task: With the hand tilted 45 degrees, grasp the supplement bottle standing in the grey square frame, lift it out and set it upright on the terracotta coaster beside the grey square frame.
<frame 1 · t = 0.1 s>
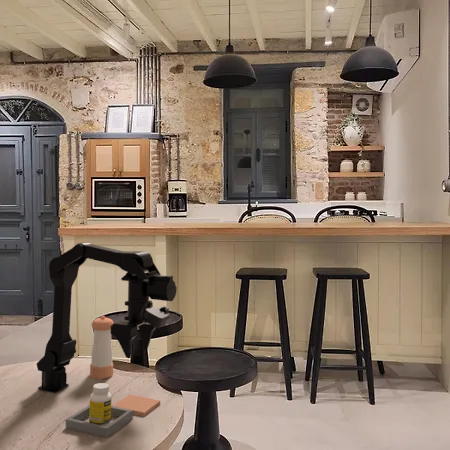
hand: (137, 353, 145), 15 cm above the table, tool pointing down, fingers open, 9 cm apart
grey square frame: (100, 423, 134), on the table
pepper shaker: (101, 375, 169), on the table
supplement bottle: (100, 423, 134), resting in grey square frame
coaster: (136, 406, 145), on the table
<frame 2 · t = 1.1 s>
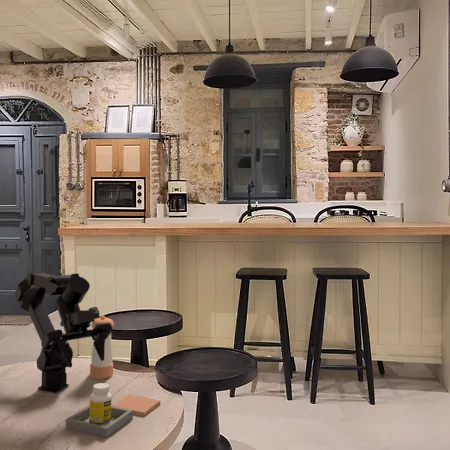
hand: (87, 363, 139), 13 cm above the table, tool tilted 45°, fingers open, 9 cm apart
nothing on the table moved.
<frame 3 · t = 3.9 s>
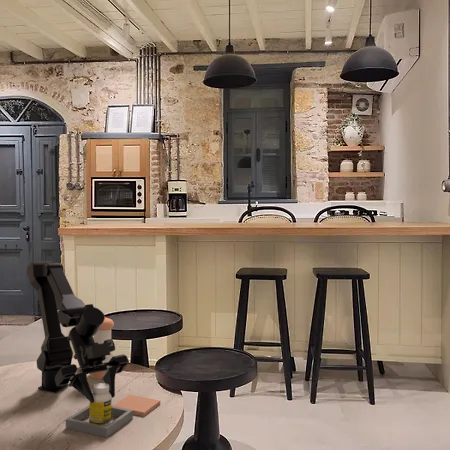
hand: (103, 399, 133), 7 cm above the table, tool tilted 45°, fingers closed on supplement bottle, 5 cm apart
supplement bottle: (100, 423, 134), resting in grey square frame, touching gripper
everything else where it was.
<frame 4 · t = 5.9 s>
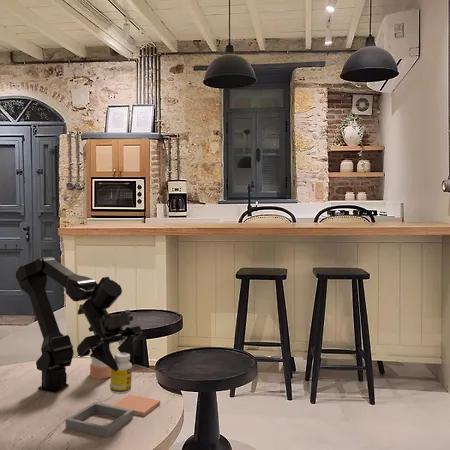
hand: (125, 367, 137), 13 cm above the table, tool tilted 45°, fingers closed on supplement bottle, 5 cm apart
supplement bottle: (120, 391, 139), point 6 cm above the table, touching gripper
everything else where it was.
when the fingers open (9 cm above the table, at t = 7.9 s): supplement bottle moves 1 cm, resting on coaster.
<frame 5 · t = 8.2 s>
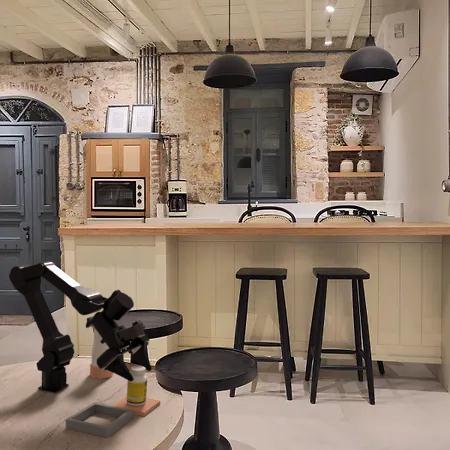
hand: (141, 375, 144), 9 cm above the table, tool tilted 45°, fingers open, 9 cm apart
supplement bottle: (136, 403, 145), point 1 cm above the table, touching coaster
everything else where it was.
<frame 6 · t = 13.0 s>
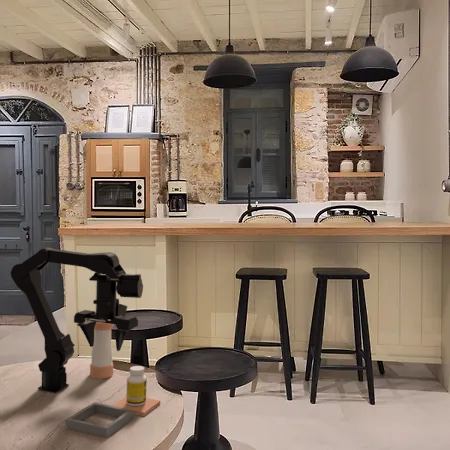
hand: (105, 348, 154), 13 cm above the table, tool pointing down, fingers open, 9 cm apart
nothing on the table moved.
at the end: supplement bottle 0.2 cm off-centre on the coaster, point 0.8 cm above the coaster's base; supplement bottle tilted 0°; the gripper is holding nothing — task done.
